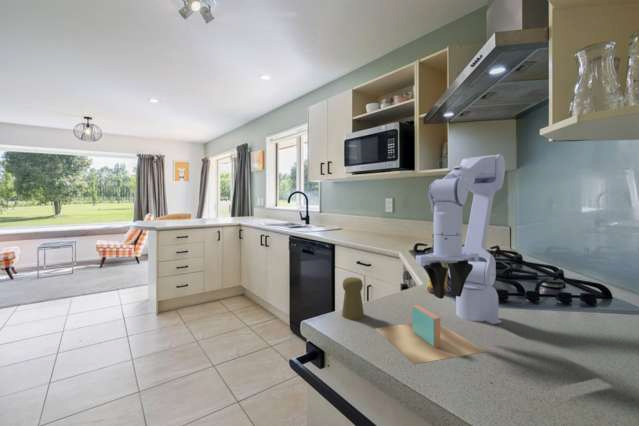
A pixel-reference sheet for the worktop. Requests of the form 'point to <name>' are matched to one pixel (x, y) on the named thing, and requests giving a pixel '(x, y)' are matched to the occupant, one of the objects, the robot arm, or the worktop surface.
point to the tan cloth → (427, 344)
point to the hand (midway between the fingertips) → (447, 296)
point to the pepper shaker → (352, 299)
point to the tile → (426, 325)
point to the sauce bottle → (428, 276)
